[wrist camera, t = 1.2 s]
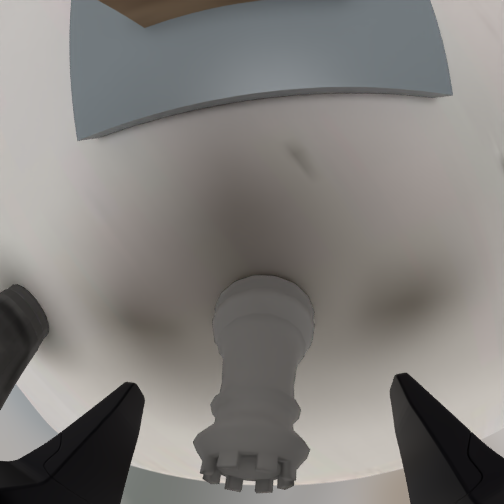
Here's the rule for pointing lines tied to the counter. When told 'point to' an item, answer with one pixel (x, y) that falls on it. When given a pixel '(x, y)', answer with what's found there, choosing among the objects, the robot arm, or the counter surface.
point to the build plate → (247, 57)
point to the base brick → (163, 8)
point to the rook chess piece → (257, 385)
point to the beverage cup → (18, 335)
